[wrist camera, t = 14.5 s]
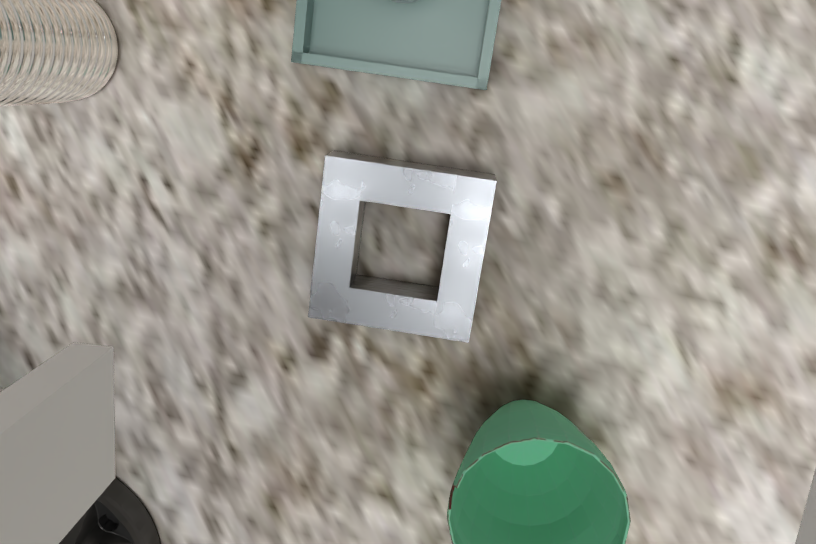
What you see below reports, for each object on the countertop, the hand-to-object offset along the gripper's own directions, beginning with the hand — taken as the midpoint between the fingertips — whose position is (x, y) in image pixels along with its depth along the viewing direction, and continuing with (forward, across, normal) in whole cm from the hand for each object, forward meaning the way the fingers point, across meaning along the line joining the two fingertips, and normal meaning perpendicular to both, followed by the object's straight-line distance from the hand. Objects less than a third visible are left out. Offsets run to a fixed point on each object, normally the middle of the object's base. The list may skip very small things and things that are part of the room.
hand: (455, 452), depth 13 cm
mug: (+33, +8, -18) cm, 38 cm away
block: (+32, -3, -3) cm, 33 cm away
